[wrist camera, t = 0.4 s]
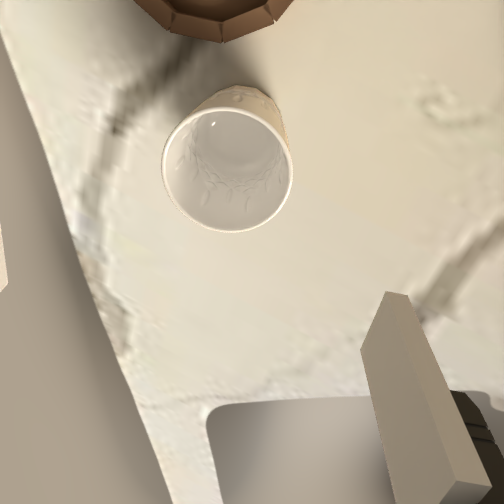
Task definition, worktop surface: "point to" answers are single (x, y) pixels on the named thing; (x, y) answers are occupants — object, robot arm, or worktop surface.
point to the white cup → (229, 161)
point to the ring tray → (214, 16)
